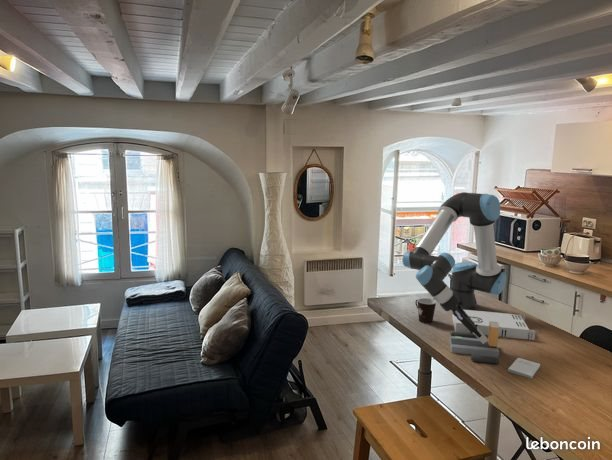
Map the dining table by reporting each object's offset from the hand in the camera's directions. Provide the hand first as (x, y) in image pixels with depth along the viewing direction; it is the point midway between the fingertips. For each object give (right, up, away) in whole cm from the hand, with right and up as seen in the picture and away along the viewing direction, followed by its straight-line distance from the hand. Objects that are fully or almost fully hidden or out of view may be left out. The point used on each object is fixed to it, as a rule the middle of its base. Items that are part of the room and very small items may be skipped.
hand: (485, 341), depth 181 cm
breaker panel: (-4, -4, +2) cm, 6 cm away
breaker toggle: (+3, -1, 0) cm, 3 cm away
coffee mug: (-16, +2, +34) cm, 37 cm away
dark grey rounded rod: (-2, -2, +12) cm, 13 cm away
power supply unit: (+12, -1, +25) cm, 28 cm away
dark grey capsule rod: (-4, -6, -9) cm, 12 cm away
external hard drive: (+9, -7, -14) cm, 18 cm away
